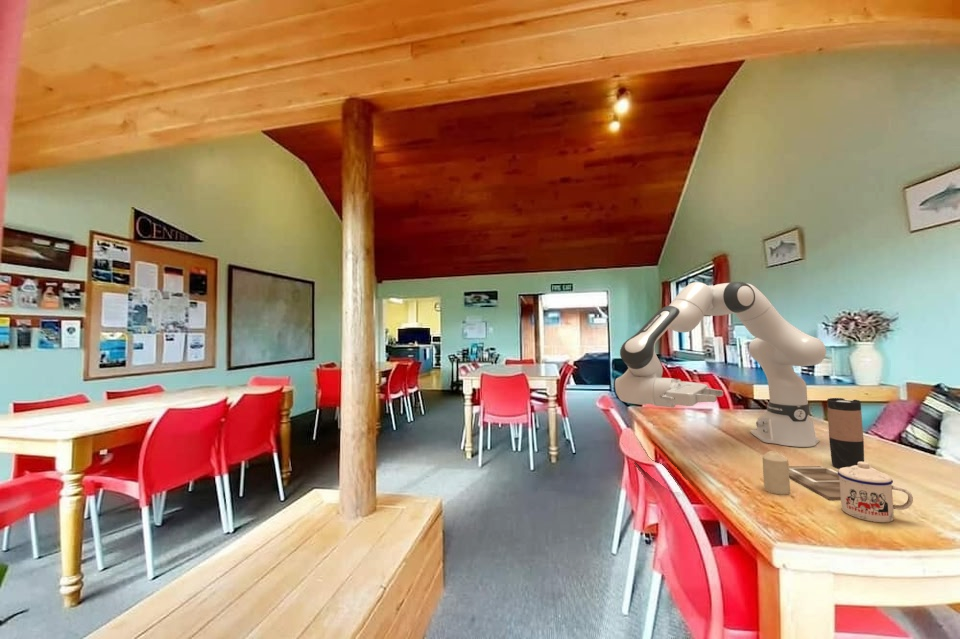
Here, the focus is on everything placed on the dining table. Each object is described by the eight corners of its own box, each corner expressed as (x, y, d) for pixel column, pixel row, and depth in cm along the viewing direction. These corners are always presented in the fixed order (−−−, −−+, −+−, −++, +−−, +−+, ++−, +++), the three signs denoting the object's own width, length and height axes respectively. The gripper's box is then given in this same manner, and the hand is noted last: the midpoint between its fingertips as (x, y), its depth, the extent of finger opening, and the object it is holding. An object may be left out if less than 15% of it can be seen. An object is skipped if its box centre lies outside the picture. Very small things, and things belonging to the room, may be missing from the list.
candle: (794, 495, 102) (792, 455, 103) (770, 494, 104) (768, 455, 104) (783, 486, 108) (780, 449, 108) (760, 486, 109) (758, 449, 109)
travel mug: (839, 471, 117) (834, 402, 118) (825, 462, 124) (821, 397, 125) (872, 472, 115) (867, 402, 115) (856, 463, 122) (851, 398, 123)
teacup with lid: (841, 516, 91) (838, 464, 91) (838, 502, 98) (835, 454, 98) (919, 531, 83) (915, 475, 83) (910, 514, 90) (906, 462, 90)
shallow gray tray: (773, 469, 121) (772, 462, 121) (819, 468, 119) (819, 462, 120) (829, 500, 99) (828, 492, 99) (886, 500, 98) (886, 491, 98)
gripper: (656, 386, 115) (711, 389, 106) (676, 378, 131) (725, 380, 122) (657, 408, 115) (712, 413, 106) (677, 397, 131) (726, 401, 122)
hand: (719, 396), depth 114 cm, fingers open, 8 cm apart
